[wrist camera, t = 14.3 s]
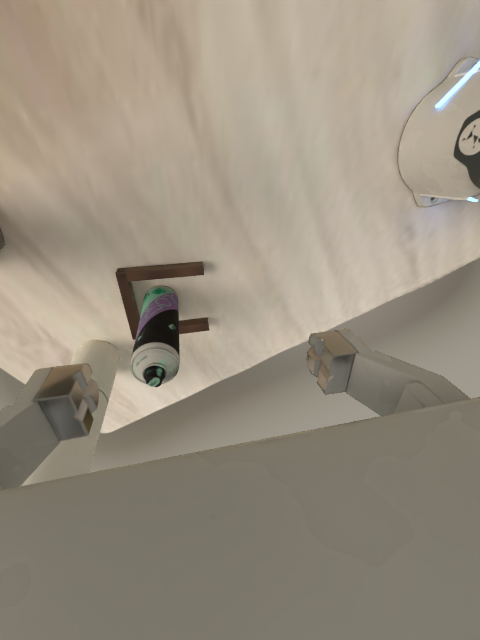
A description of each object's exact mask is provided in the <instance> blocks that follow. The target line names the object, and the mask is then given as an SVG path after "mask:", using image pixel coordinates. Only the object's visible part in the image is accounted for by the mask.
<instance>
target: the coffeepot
mask: <svg viewBox="0 0 480 640" xmlns="http://www.w3.org/2000/svg"><path fill="white" fill-rule="evenodd" d="M4 245H5V244H4V240H3V236H2V232H1V229H0V250H1V249H2V248H3V246H4Z"/></svg>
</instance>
